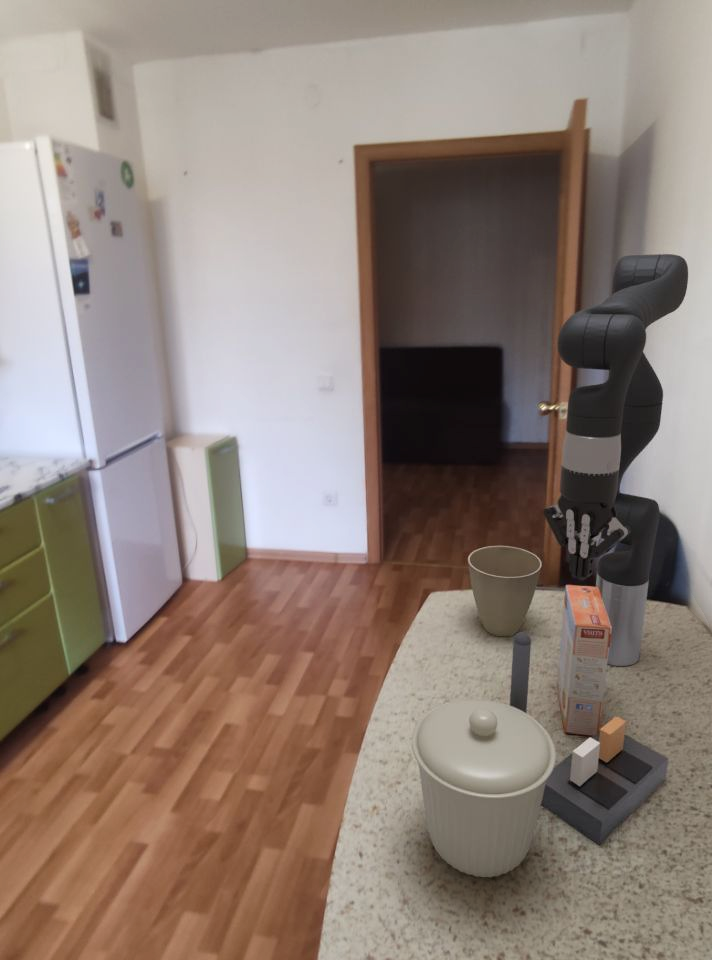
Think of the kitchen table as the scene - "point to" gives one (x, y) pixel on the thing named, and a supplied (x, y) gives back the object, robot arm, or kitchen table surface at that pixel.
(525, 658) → the stand
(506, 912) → the kitchen table surface
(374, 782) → the kitchen table surface
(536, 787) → the canister
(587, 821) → the panel
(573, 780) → the white rectangular block
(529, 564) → the plant pot
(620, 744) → the block
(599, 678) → the cracker box
